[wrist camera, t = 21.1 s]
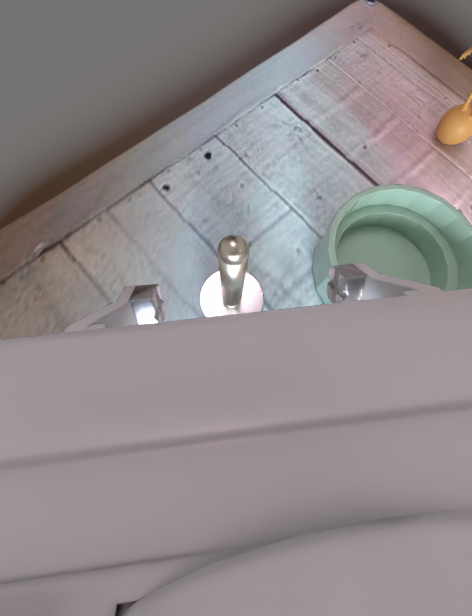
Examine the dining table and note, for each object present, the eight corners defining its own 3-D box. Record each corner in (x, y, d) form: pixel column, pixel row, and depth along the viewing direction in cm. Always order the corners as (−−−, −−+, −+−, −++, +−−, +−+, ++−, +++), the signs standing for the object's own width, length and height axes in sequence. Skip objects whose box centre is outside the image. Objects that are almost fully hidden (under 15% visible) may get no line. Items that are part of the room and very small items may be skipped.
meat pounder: (256, 276, 28) (280, 190, 15) (264, 331, 27) (298, 290, 14) (199, 281, 28) (174, 199, 15) (205, 338, 27) (181, 302, 13)
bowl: (421, 209, 31) (457, 178, 26) (460, 330, 27) (510, 320, 23) (301, 220, 30) (315, 191, 25) (326, 346, 27) (347, 339, 22)
